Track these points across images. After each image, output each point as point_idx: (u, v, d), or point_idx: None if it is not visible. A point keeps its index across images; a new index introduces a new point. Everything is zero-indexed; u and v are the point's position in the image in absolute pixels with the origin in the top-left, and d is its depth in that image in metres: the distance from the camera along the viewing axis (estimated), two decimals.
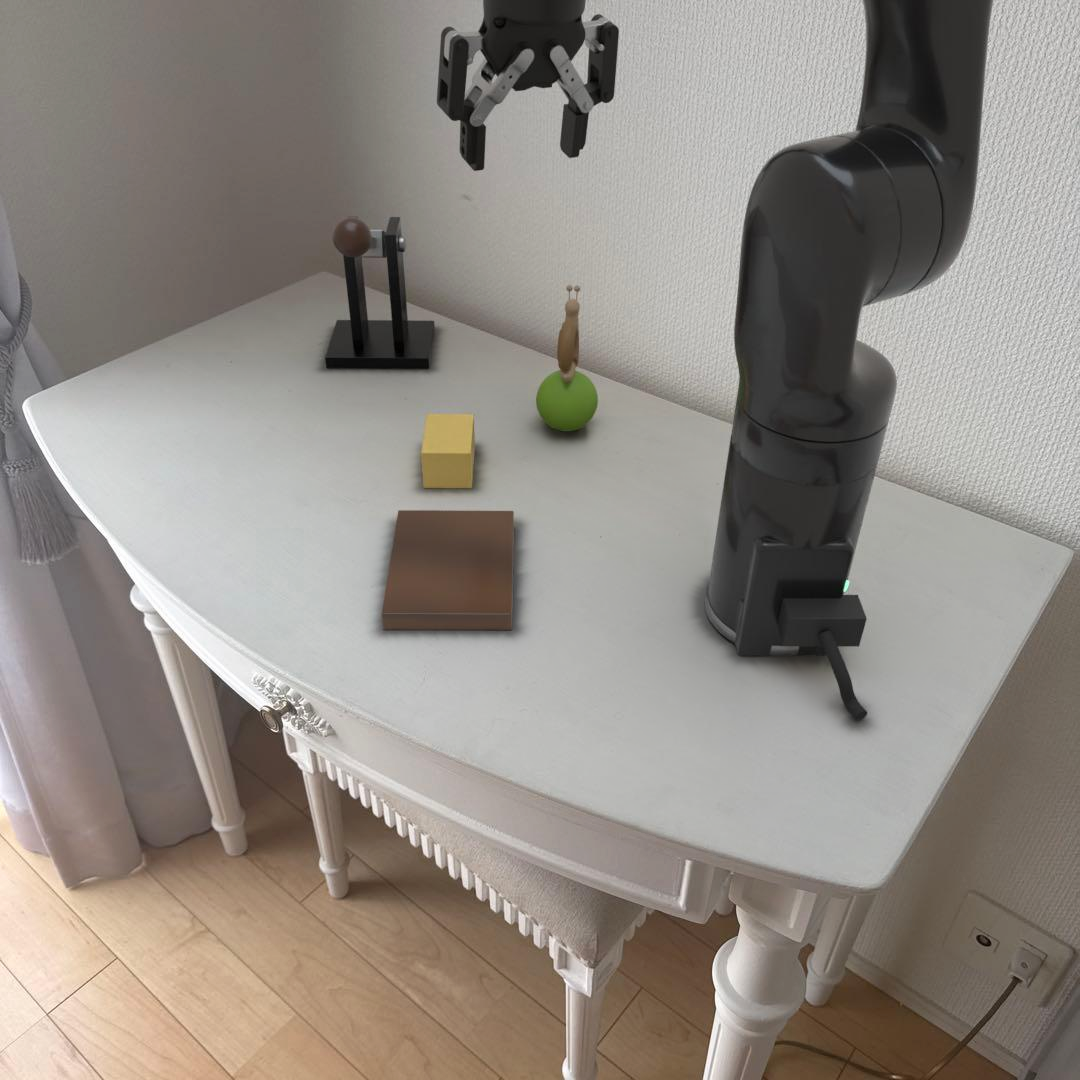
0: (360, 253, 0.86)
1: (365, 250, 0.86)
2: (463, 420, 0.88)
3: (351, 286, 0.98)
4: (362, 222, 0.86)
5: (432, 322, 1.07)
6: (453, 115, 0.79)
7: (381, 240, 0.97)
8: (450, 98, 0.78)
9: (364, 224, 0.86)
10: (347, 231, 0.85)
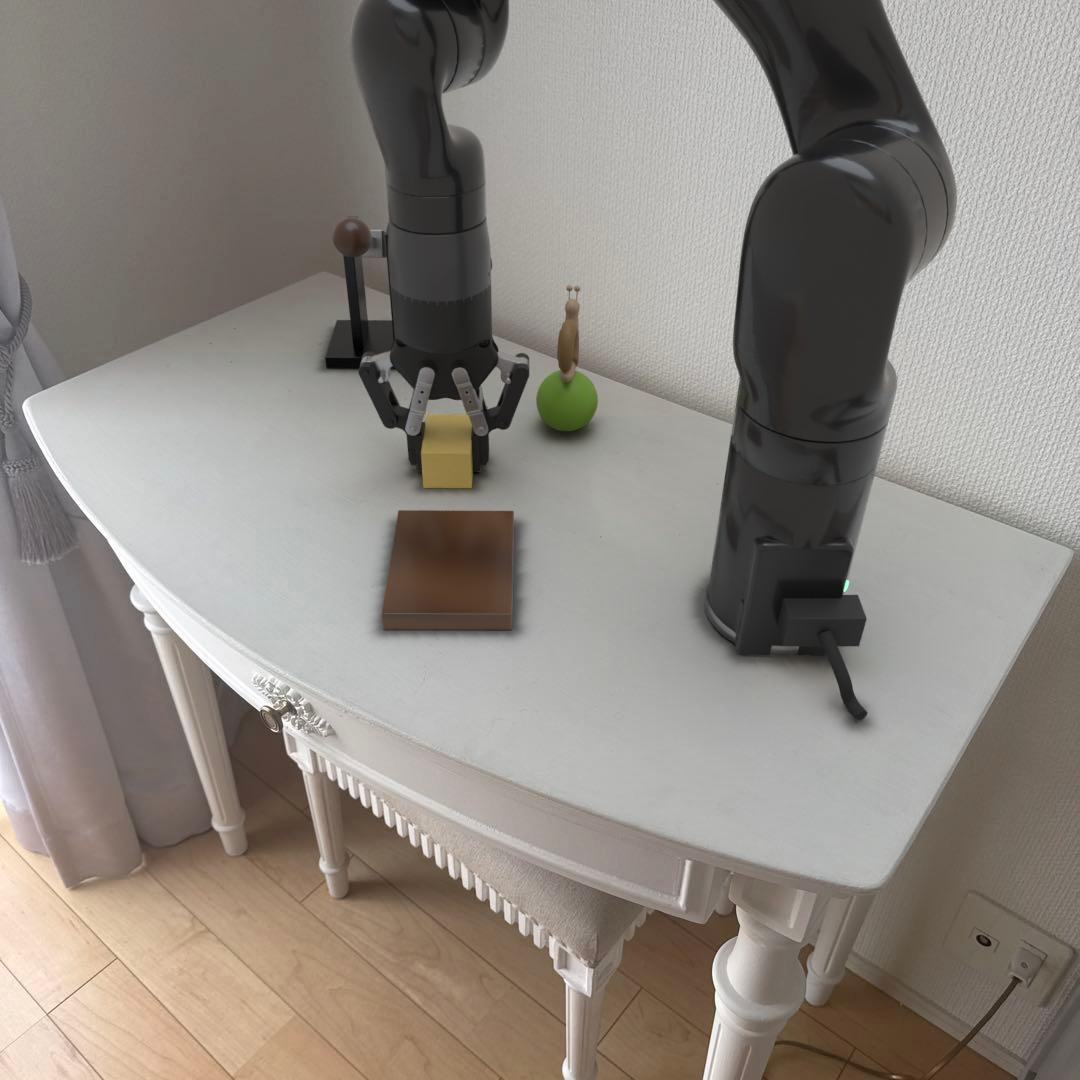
0: (360, 253, 0.86)
1: (365, 250, 0.86)
2: (463, 420, 0.88)
3: (351, 286, 0.98)
4: (362, 222, 0.86)
5: None
6: (387, 424, 0.84)
7: (381, 240, 0.97)
8: (378, 412, 0.84)
9: (364, 224, 0.86)
10: (347, 231, 0.85)
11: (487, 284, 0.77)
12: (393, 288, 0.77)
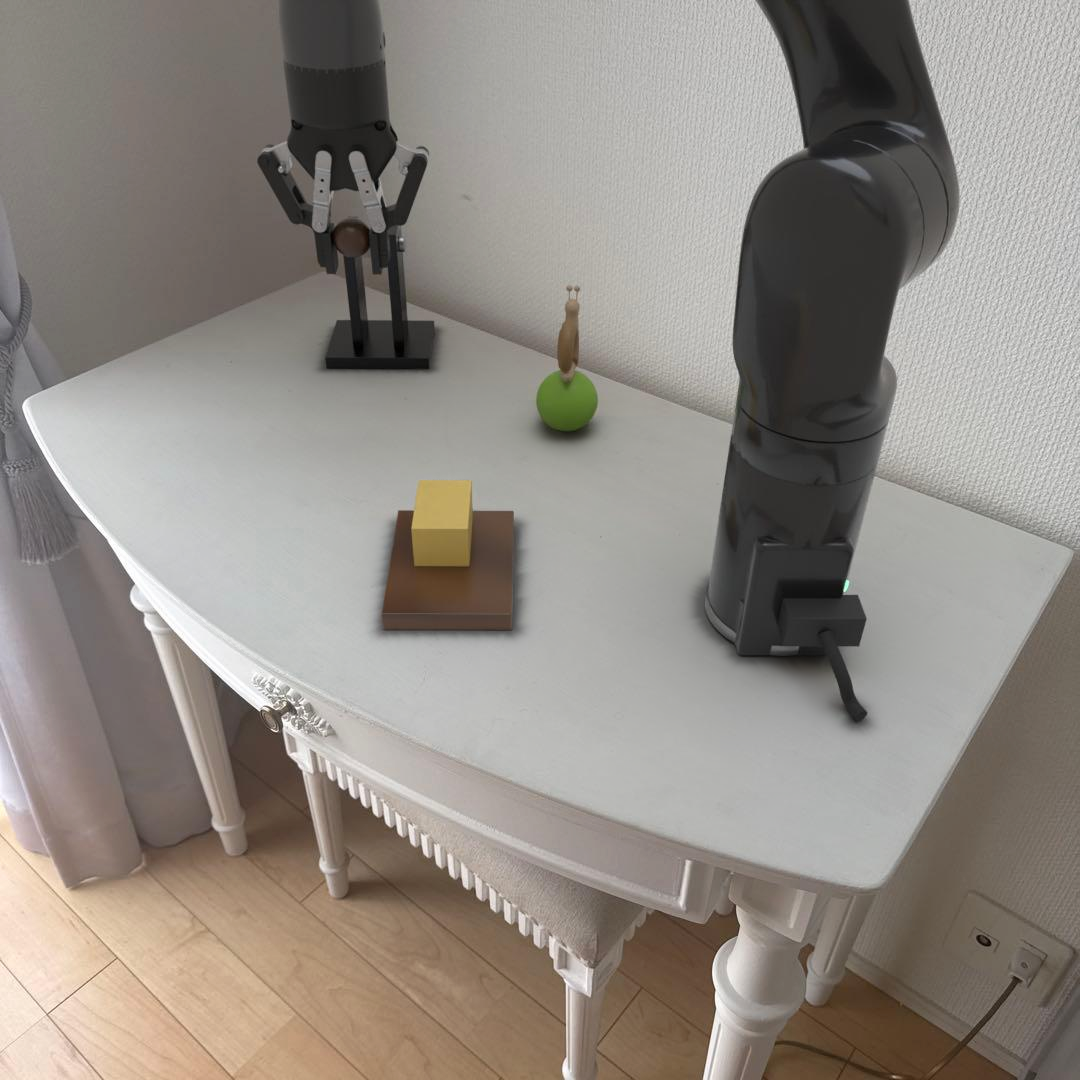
0: (360, 253, 0.86)
1: (365, 250, 0.86)
2: (459, 487, 0.78)
3: (351, 286, 0.98)
4: (362, 222, 0.86)
5: (432, 322, 1.07)
6: (293, 219, 0.84)
7: None
8: (283, 207, 0.84)
9: (364, 224, 0.86)
10: (347, 232, 0.85)
11: (379, 57, 0.77)
12: (284, 61, 0.76)
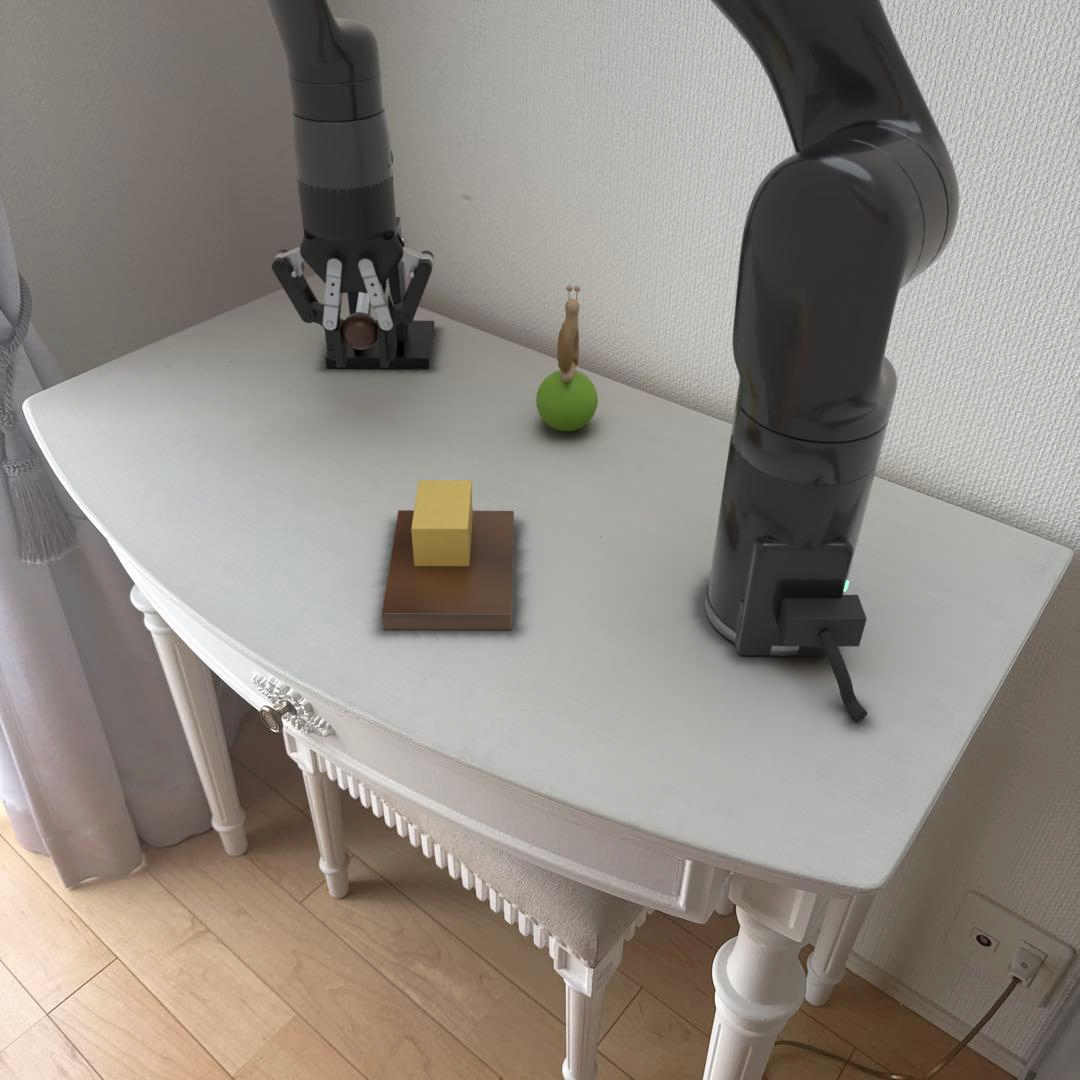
0: (369, 346, 0.92)
1: (374, 343, 0.92)
2: (459, 487, 0.78)
3: None
4: (369, 324, 0.90)
5: (432, 322, 1.07)
6: (305, 318, 0.89)
7: None
8: (295, 307, 0.88)
9: (371, 326, 0.90)
10: (356, 340, 0.90)
11: (387, 175, 0.81)
12: (298, 179, 0.81)
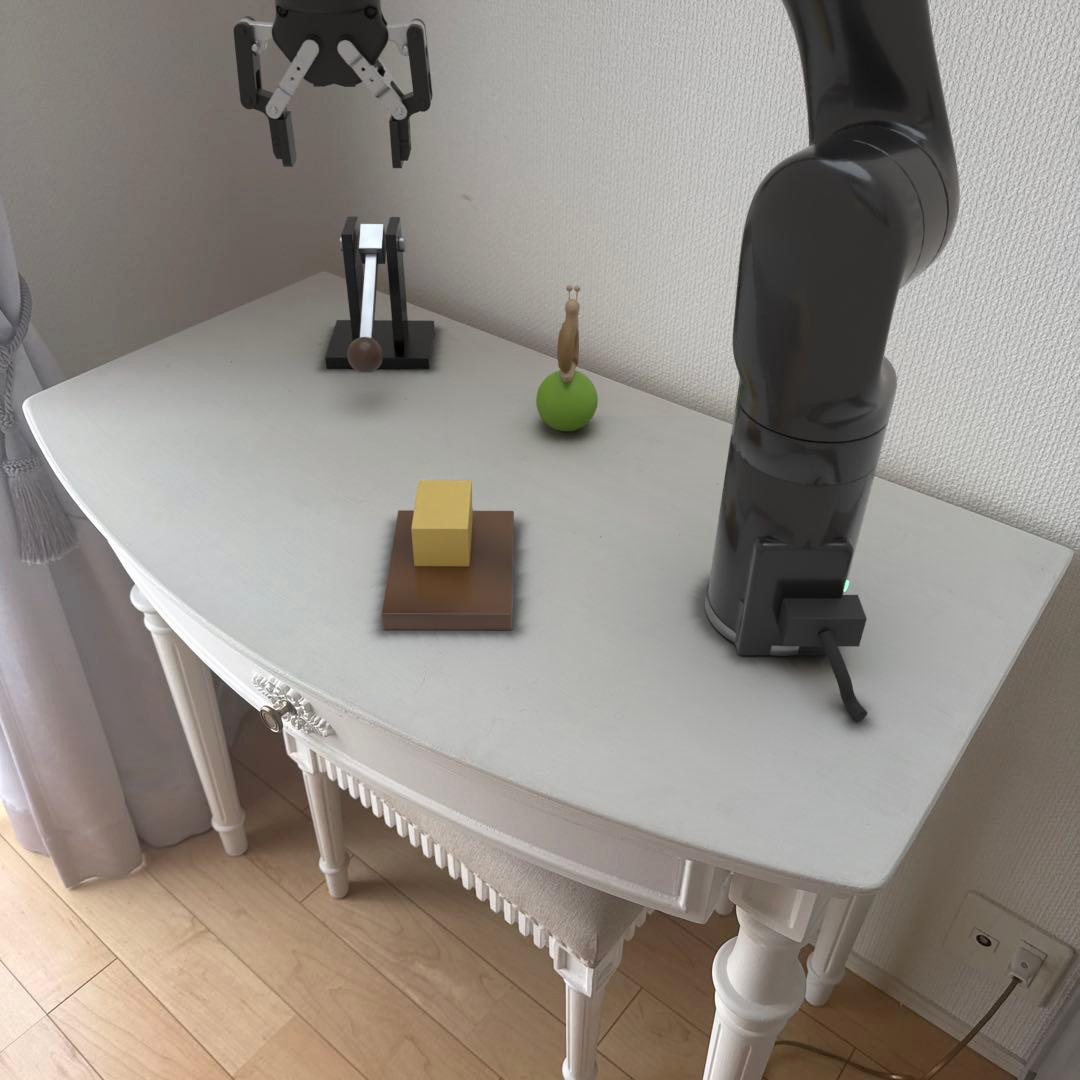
0: None
1: None
2: (459, 487, 0.78)
3: (351, 286, 0.98)
4: (373, 352, 0.93)
5: (432, 322, 1.07)
6: (245, 103, 0.79)
7: (382, 254, 0.97)
8: (239, 85, 0.78)
9: (375, 353, 0.93)
10: (362, 367, 0.93)
11: None
12: None
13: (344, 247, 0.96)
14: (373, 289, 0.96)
